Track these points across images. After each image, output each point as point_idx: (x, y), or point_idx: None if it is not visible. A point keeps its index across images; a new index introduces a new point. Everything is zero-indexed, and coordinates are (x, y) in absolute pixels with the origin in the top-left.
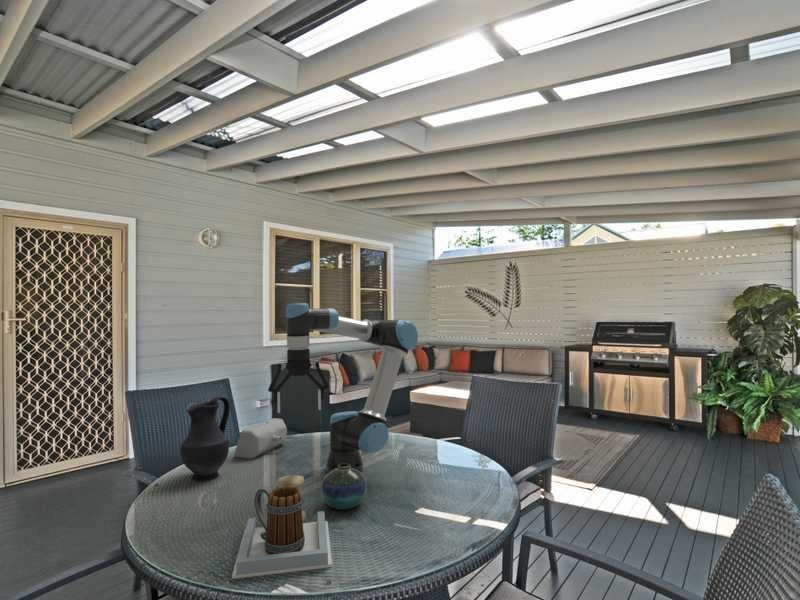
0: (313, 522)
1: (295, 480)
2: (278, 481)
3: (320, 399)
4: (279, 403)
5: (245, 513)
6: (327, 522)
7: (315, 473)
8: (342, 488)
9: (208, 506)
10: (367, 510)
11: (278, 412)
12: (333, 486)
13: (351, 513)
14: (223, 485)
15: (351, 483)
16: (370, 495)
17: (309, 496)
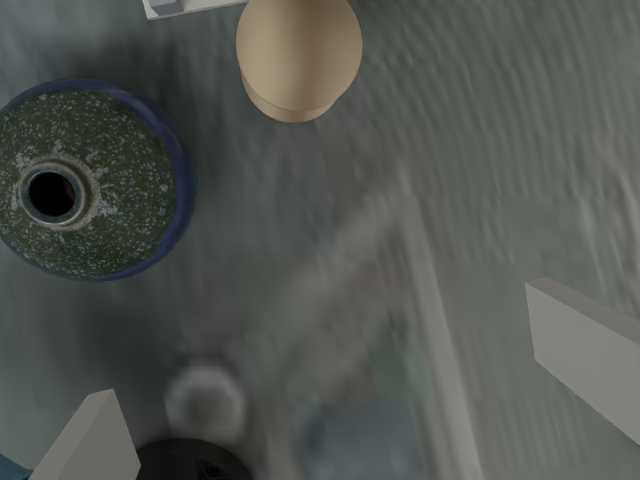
0: (197, 6)
1: (274, 31)
2: (356, 22)
3: (34, 474)
4: (594, 316)
5: (461, 115)
6: (144, 4)
7: (288, 460)
8: (66, 81)
9: (597, 174)
10: None
11: (541, 279)
12: (110, 92)
13: None
14: None
15: (20, 102)
16: None
17: (266, 254)
